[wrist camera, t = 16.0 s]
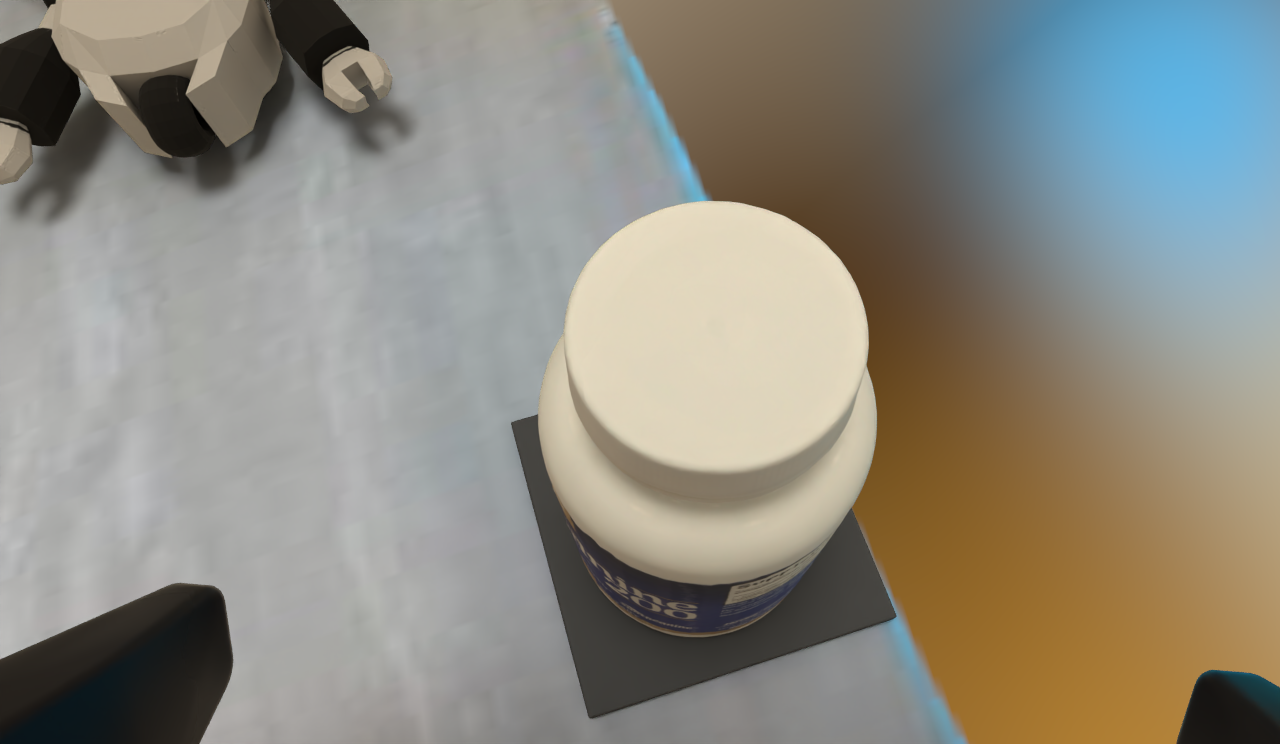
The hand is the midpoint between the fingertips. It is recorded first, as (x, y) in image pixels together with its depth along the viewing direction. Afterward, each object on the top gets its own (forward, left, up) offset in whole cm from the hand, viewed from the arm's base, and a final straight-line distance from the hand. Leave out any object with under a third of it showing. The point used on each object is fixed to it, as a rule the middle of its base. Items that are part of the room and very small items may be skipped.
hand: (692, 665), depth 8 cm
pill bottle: (+4, -2, -12) cm, 12 cm away
